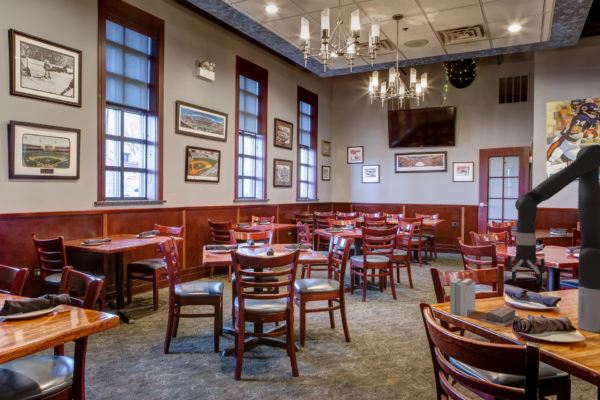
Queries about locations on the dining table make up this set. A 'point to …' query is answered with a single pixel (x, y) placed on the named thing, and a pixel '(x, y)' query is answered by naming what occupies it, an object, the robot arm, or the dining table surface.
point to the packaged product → (500, 316)
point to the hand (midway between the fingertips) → (525, 281)
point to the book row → (458, 296)
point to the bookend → (469, 299)
